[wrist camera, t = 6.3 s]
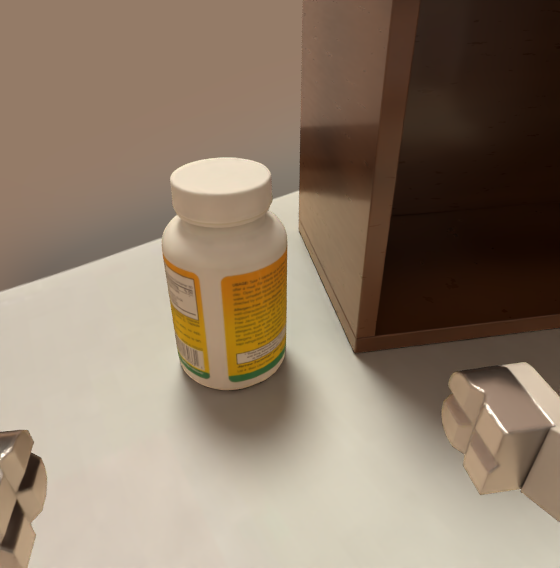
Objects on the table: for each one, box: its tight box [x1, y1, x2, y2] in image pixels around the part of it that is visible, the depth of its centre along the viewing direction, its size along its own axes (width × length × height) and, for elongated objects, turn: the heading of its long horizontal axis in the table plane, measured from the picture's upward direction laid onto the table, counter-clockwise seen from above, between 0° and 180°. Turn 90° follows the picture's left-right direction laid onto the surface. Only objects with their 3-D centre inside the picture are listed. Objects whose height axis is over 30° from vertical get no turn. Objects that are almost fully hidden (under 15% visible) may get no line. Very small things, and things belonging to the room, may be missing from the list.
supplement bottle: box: [162, 158, 287, 390], centre depth 21 cm, size 5×5×10 cm
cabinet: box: [299, 0, 560, 353], centre depth 27 cm, size 14×25×17 cm, turn 100°
